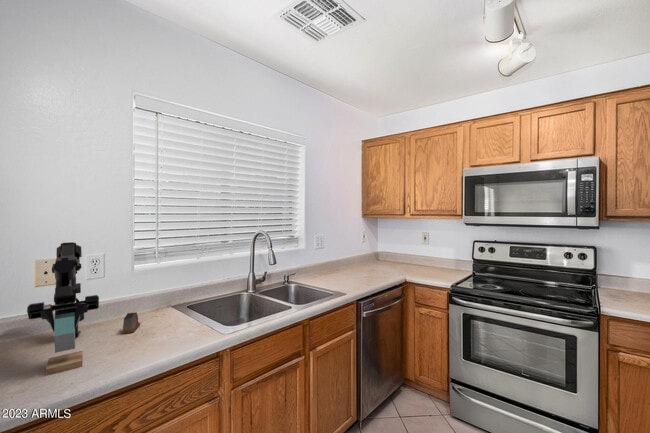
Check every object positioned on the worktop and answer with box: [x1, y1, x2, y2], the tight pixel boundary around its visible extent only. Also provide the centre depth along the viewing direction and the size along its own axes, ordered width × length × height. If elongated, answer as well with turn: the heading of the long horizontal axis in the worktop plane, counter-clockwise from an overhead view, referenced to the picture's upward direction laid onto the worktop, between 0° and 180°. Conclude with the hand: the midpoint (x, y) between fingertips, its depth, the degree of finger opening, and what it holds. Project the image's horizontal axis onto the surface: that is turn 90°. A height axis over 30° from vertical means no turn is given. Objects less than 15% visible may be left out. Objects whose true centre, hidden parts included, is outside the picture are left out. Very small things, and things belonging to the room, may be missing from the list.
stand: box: [45, 350, 84, 376], centre depth 103 cm, size 9×9×2 cm
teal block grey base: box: [54, 312, 76, 353], centre depth 103 cm, size 5×5×11 cm
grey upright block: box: [121, 311, 141, 335], centre depth 134 cm, size 4×10×8 cm, turn 16°
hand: (64, 329), depth 102 cm, fingers closed on teal block grey base, 5 cm apart
